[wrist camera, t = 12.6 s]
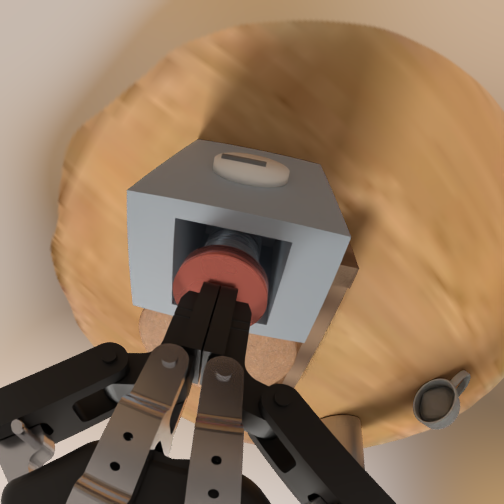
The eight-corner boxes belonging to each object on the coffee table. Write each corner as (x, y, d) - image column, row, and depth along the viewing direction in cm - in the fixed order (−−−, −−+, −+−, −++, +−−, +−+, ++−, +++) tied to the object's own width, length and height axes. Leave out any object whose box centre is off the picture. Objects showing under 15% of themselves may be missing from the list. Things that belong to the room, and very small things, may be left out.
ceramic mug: (420, 405, 41) (429, 440, 35) (407, 391, 38) (417, 431, 32) (470, 377, 37) (483, 411, 30) (463, 359, 34) (479, 398, 28)
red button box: (298, 238, 26) (304, 343, 16) (188, 215, 26) (133, 305, 16) (323, 155, 22) (357, 220, 12) (199, 129, 22) (127, 172, 12)
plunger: (264, 272, 18) (256, 338, 14) (198, 258, 18) (172, 319, 14) (279, 212, 16) (277, 270, 12) (206, 197, 16) (173, 247, 11)
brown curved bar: (282, 384, 38) (280, 411, 35) (268, 382, 38) (266, 409, 35) (348, 240, 26) (358, 268, 22) (328, 235, 26) (335, 263, 22)
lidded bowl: (148, 265, 29) (101, 343, 20) (242, 198, 25) (216, 276, 15) (225, 338, 34) (207, 419, 25) (318, 295, 29) (328, 387, 20)
